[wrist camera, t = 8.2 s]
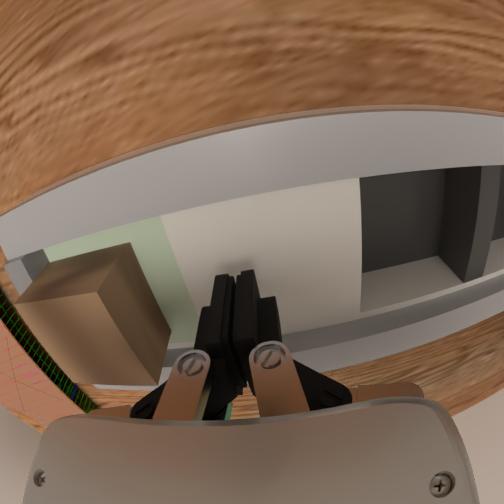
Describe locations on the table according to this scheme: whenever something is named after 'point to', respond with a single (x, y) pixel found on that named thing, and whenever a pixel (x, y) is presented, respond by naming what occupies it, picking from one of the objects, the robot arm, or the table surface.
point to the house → (31, 383)
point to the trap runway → (298, 225)
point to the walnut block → (98, 318)
